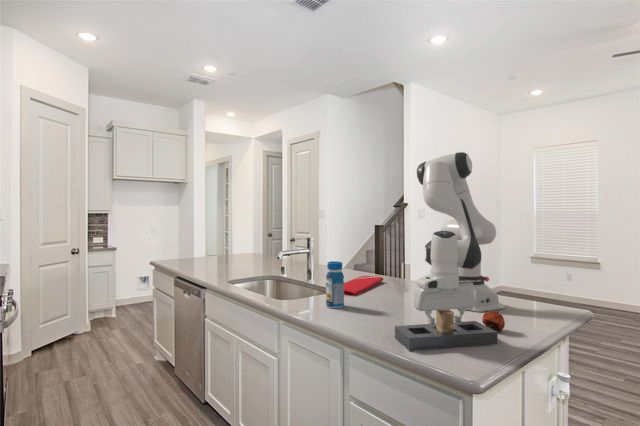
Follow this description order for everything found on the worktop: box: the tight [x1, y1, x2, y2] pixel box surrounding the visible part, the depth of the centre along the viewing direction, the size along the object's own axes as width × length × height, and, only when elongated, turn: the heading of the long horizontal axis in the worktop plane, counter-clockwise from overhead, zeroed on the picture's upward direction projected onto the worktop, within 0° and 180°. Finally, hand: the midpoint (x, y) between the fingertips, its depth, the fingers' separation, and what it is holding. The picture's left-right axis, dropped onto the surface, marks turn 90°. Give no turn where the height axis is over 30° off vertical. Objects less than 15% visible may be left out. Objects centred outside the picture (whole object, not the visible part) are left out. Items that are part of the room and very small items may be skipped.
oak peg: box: [435, 309, 455, 332], centre depth 120 cm, size 4×4×10 cm
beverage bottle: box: [325, 261, 345, 309], centre depth 165 cm, size 8×8×20 cm
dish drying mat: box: [344, 275, 384, 297], centre depth 206 cm, size 16×41×4 cm, turn 149°
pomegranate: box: [481, 310, 506, 333], centre depth 130 cm, size 7×7×10 cm
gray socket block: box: [394, 320, 499, 352], centre depth 120 cm, size 30×12×4 cm, turn 100°
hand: (444, 322), depth 120 cm, fingers open, 8 cm apart
